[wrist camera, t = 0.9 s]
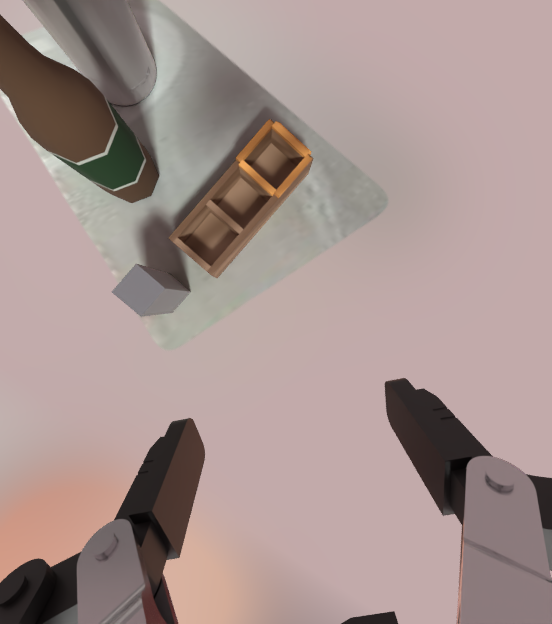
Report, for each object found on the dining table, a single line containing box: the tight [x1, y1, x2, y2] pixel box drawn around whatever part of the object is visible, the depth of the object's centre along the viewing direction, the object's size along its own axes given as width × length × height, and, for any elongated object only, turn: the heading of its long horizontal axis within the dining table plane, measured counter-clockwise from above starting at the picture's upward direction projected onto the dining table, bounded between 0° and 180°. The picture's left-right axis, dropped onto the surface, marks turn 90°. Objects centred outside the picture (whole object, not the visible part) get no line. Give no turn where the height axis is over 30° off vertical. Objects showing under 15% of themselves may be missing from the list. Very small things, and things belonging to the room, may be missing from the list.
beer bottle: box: [0, 15, 159, 203], centre depth 24 cm, size 8×8×24 cm
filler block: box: [112, 264, 190, 316], centre depth 32 cm, size 4×4×10 cm
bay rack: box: [169, 119, 313, 278], centre depth 35 cm, size 7×21×4 cm, turn 139°
